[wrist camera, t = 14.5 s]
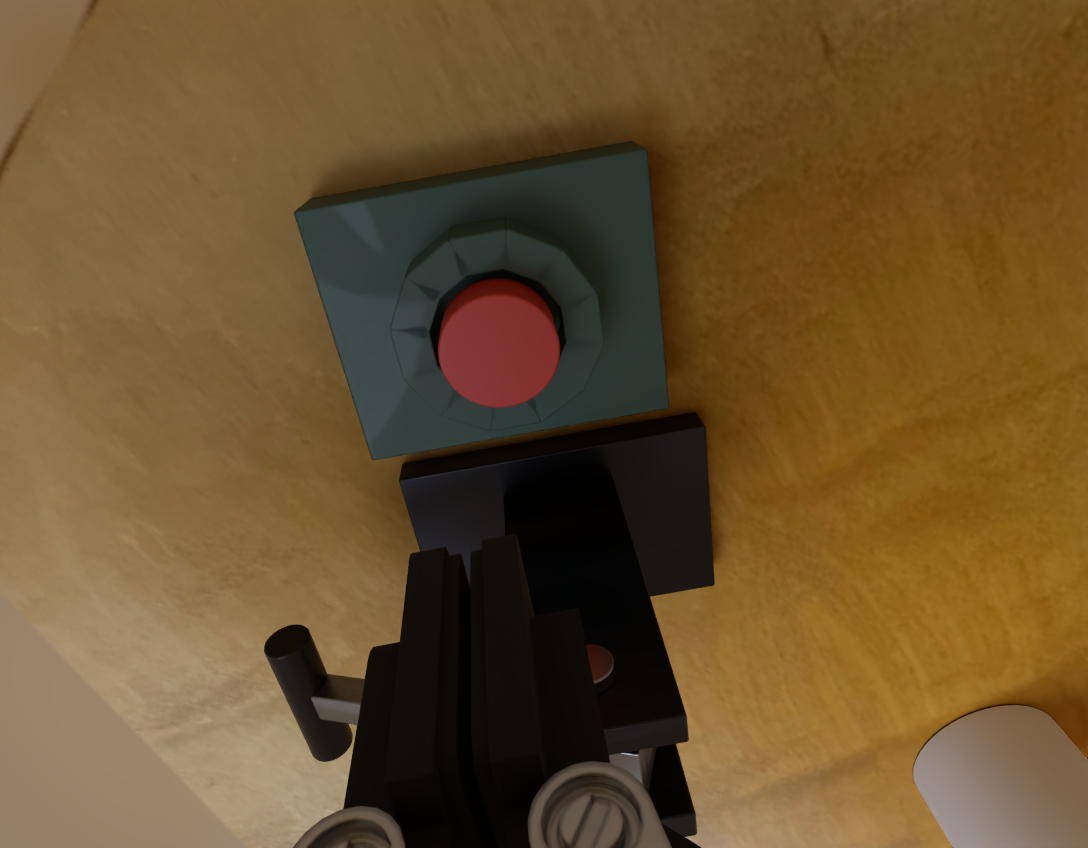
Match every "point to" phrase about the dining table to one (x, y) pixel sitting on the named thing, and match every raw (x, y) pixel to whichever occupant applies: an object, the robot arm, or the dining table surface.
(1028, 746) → the cup
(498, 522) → the bracket
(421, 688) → the robot arm
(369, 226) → the button box
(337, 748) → the lever
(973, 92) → the dining table surface
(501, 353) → the button
